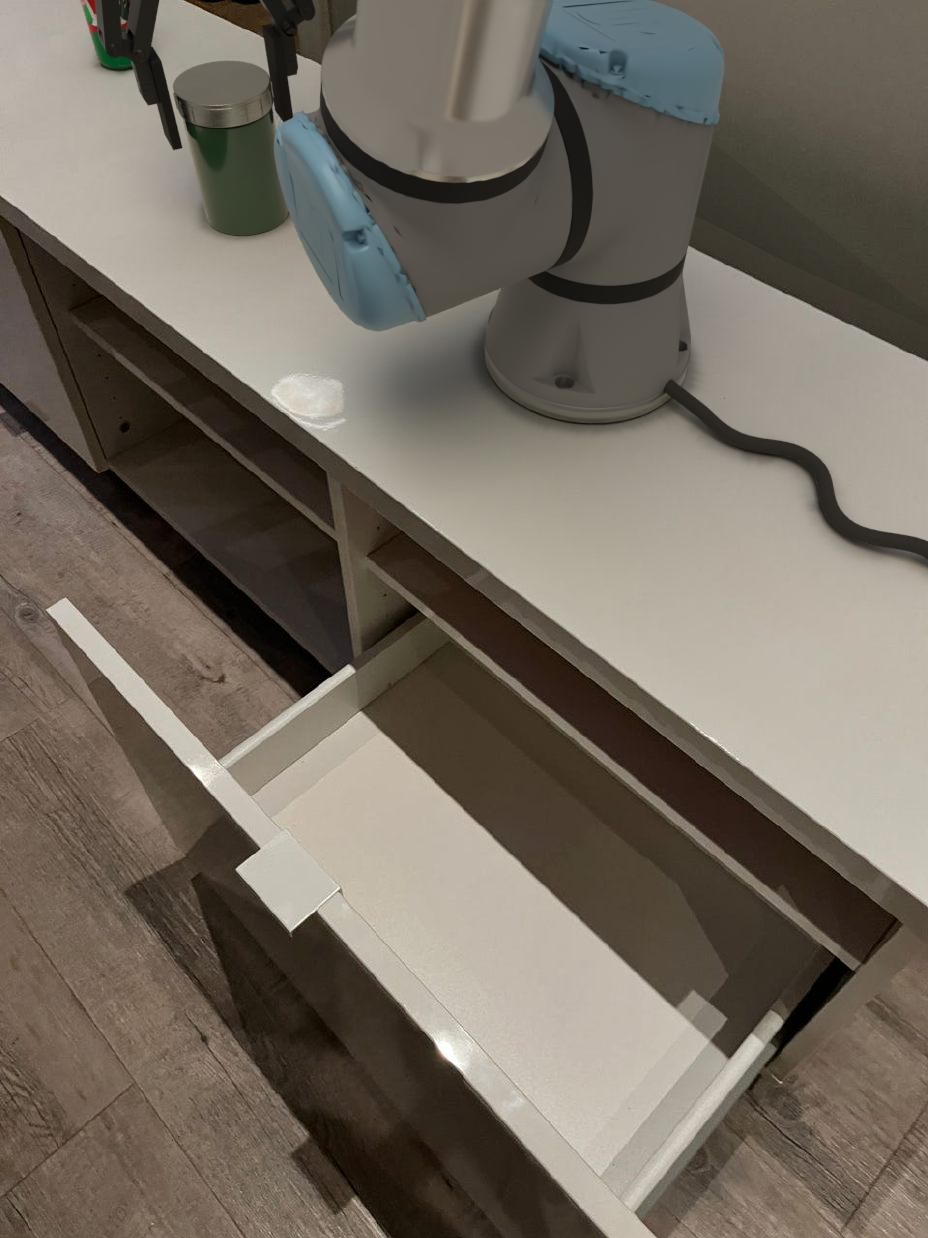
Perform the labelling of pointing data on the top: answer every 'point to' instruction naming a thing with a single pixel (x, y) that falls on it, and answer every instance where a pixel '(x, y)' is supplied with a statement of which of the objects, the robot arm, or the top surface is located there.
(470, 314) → the top surface
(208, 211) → the jar
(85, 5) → the soda can
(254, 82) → the lid
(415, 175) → the robot arm
